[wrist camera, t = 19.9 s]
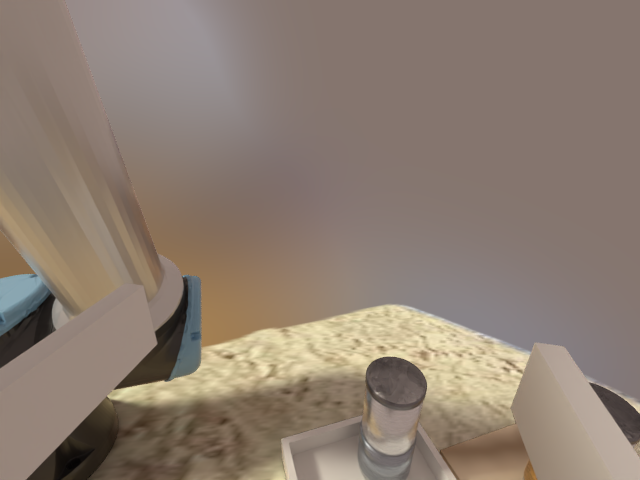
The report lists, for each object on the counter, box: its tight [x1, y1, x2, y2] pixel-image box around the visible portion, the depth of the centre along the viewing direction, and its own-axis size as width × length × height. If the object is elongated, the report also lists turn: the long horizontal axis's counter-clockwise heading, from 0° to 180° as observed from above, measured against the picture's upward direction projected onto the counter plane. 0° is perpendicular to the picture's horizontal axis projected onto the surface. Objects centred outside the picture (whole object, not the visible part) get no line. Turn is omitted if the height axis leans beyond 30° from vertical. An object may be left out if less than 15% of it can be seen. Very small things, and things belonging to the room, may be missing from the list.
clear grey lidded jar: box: [357, 357, 427, 480], centre depth 36 cm, size 6×6×14 cm
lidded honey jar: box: [523, 383, 640, 480], centre depth 33 cm, size 6×6×14 cm
